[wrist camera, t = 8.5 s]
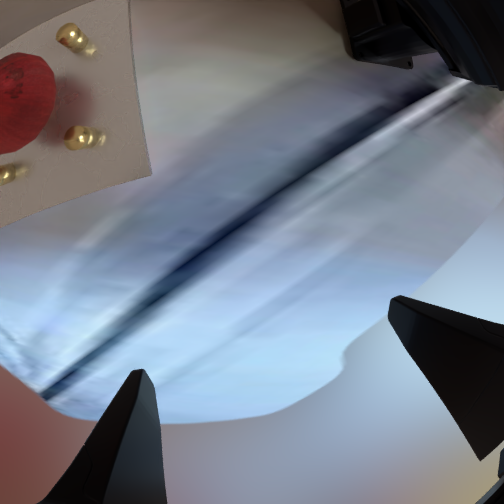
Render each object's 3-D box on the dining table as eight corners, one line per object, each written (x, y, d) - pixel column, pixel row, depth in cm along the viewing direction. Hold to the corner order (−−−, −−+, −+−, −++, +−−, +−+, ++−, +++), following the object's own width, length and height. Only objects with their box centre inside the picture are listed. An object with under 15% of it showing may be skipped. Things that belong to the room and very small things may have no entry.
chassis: (129, -4, 11) (121, -27, 8) (152, 173, 17) (145, 181, 14) (-22, 71, 9) (-45, 66, 6) (-1, 227, 15) (-25, 243, 11)
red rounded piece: (29, 61, 10) (-37, 35, 3) (89, 75, 12) (31, 39, 5) (-1, 138, 11) (-75, 150, 4) (54, 159, 14) (-19, 178, 6)
